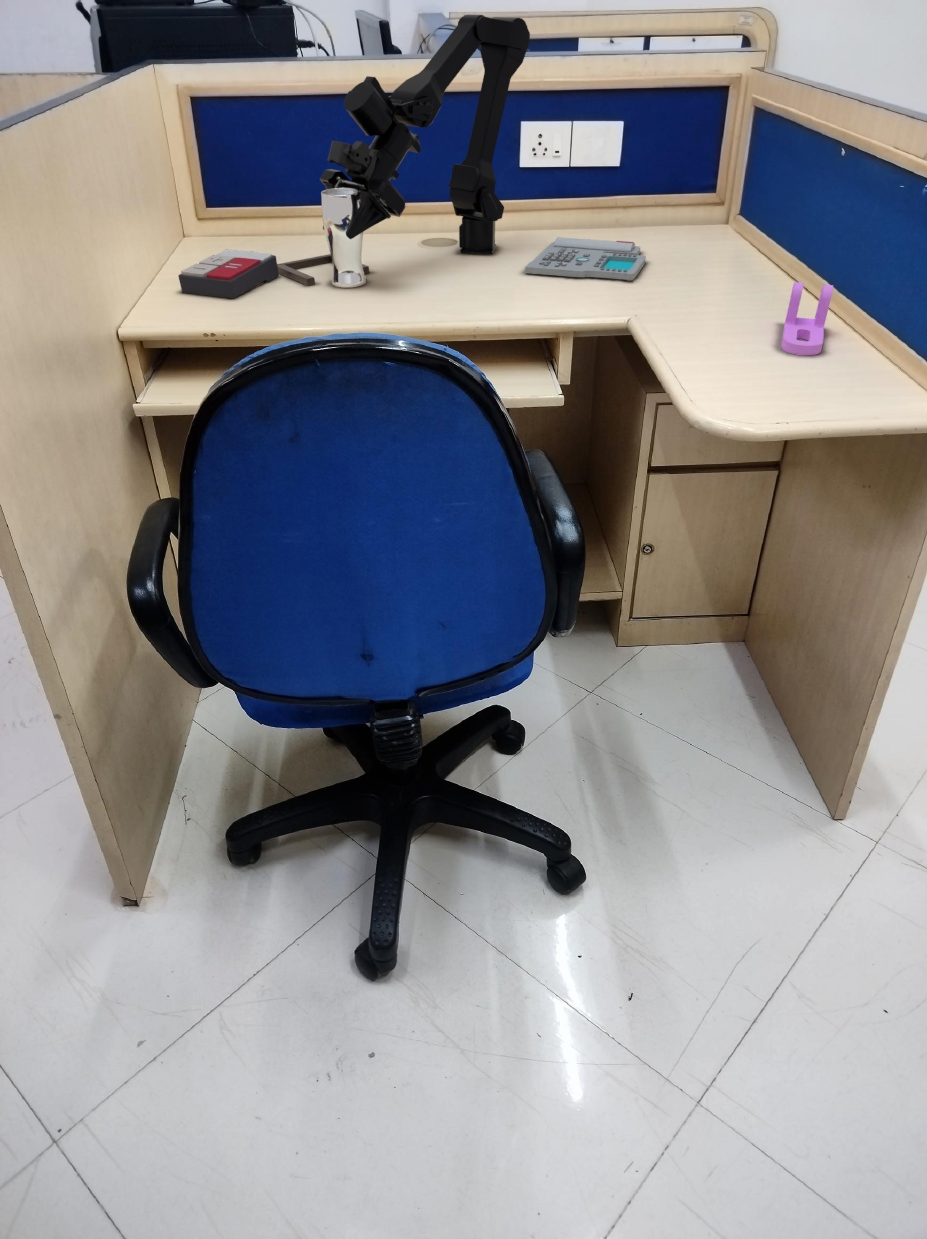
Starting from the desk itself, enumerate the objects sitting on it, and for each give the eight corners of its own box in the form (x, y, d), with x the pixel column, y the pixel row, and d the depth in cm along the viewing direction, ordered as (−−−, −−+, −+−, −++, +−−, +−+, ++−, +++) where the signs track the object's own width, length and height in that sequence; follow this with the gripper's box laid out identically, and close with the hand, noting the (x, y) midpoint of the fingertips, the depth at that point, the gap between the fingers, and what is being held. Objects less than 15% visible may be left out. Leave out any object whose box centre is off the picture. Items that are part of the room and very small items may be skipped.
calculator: (175, 270, 146) (224, 245, 156) (181, 296, 148) (229, 269, 159) (229, 277, 142) (276, 250, 153) (234, 302, 145) (280, 275, 156)
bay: (369, 272, 158) (369, 266, 157) (307, 285, 151) (306, 278, 150) (334, 259, 165) (333, 253, 165) (274, 271, 159) (273, 264, 158)
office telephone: (555, 232, 172) (653, 239, 167) (554, 245, 174) (652, 253, 169) (525, 258, 155) (634, 267, 149) (524, 273, 156) (632, 283, 151)
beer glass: (372, 277, 154) (365, 187, 145) (363, 289, 149) (355, 196, 140) (335, 276, 155) (326, 186, 146) (325, 288, 150) (314, 195, 141)
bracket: (784, 325, 132) (794, 279, 128) (821, 328, 131) (833, 282, 127) (780, 352, 123) (791, 303, 118) (820, 357, 121) (833, 307, 117)
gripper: (323, 116, 145) (275, 194, 146) (387, 124, 133) (334, 209, 134) (365, 163, 154) (319, 236, 155) (427, 175, 142) (378, 254, 143)
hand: (336, 233), depth 146 cm, fingers closed on beer glass, 7 cm apart
